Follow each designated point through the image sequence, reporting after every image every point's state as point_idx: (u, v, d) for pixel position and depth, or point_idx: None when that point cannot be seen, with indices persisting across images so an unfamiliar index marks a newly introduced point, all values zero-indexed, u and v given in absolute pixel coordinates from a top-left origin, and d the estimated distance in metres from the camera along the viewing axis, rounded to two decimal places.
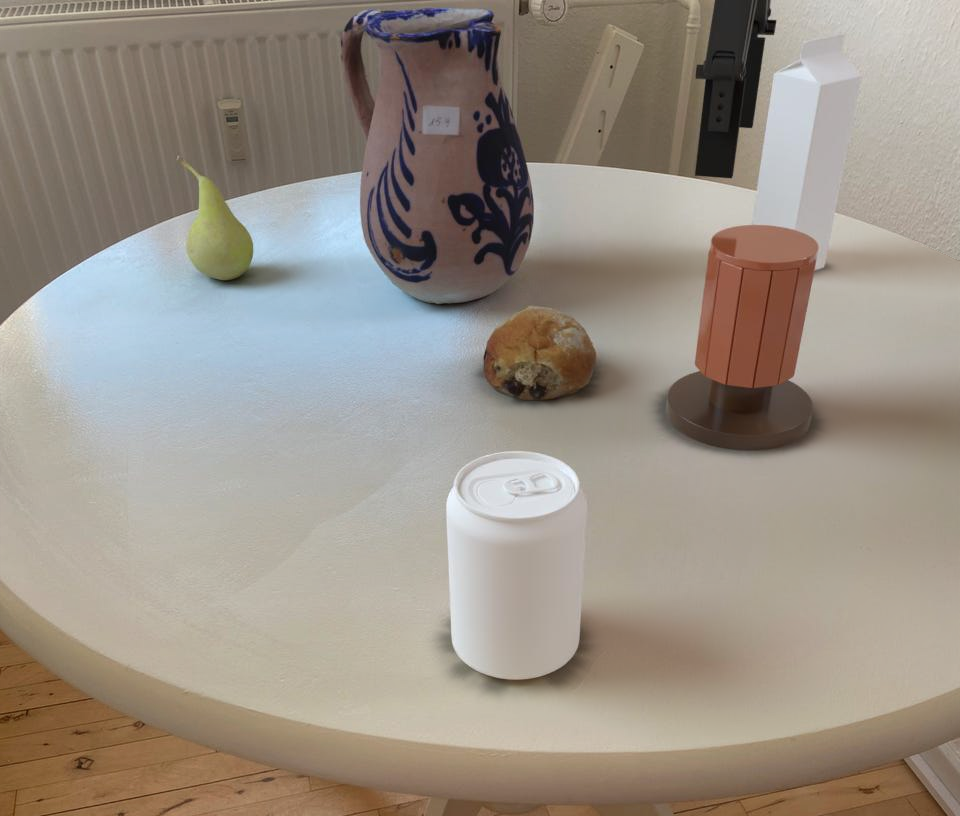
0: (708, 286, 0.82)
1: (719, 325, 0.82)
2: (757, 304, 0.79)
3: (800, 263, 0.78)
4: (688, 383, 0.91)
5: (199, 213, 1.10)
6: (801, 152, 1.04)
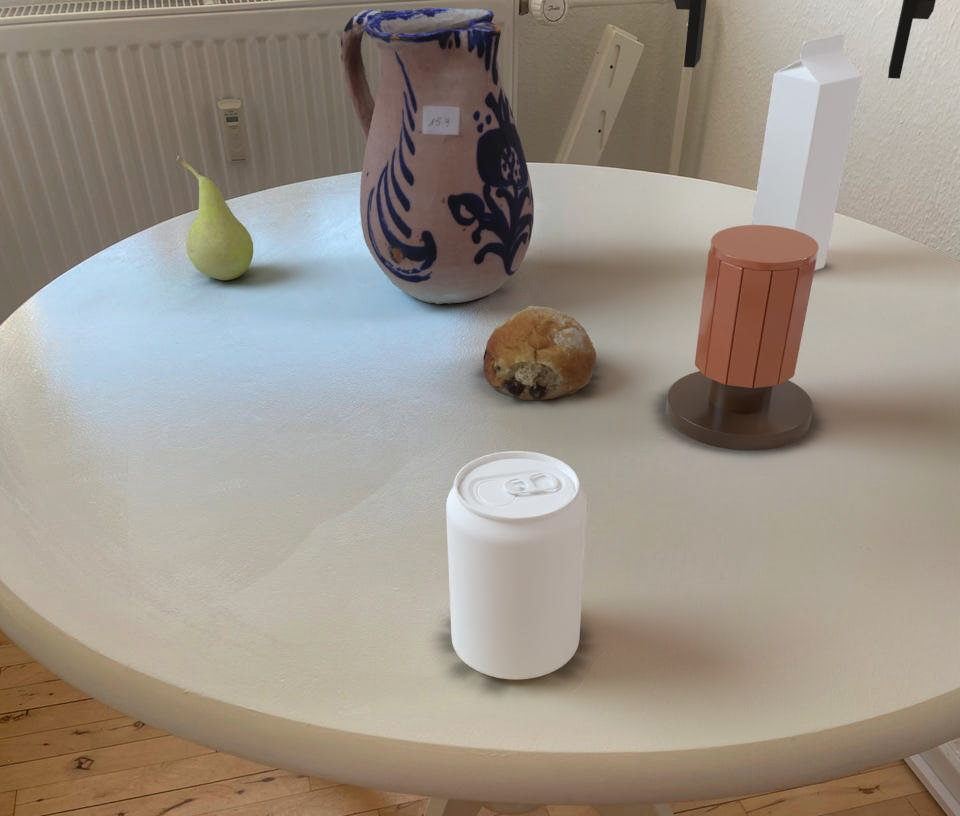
0: (708, 286, 0.82)
1: (719, 325, 0.82)
2: (757, 304, 0.79)
3: (800, 263, 0.78)
4: (688, 383, 0.91)
5: (199, 213, 1.10)
6: (801, 152, 1.04)
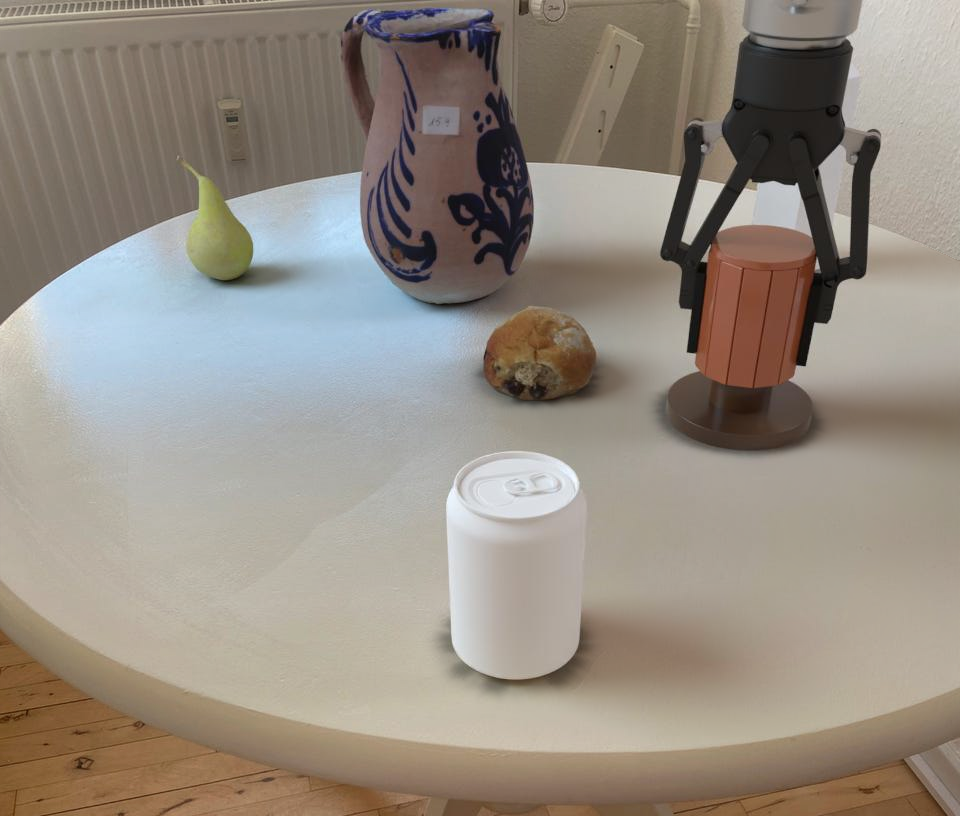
0: (708, 286, 0.82)
1: (719, 325, 0.82)
2: (757, 304, 0.79)
3: (800, 263, 0.78)
4: (688, 383, 0.91)
5: (199, 213, 1.10)
6: None
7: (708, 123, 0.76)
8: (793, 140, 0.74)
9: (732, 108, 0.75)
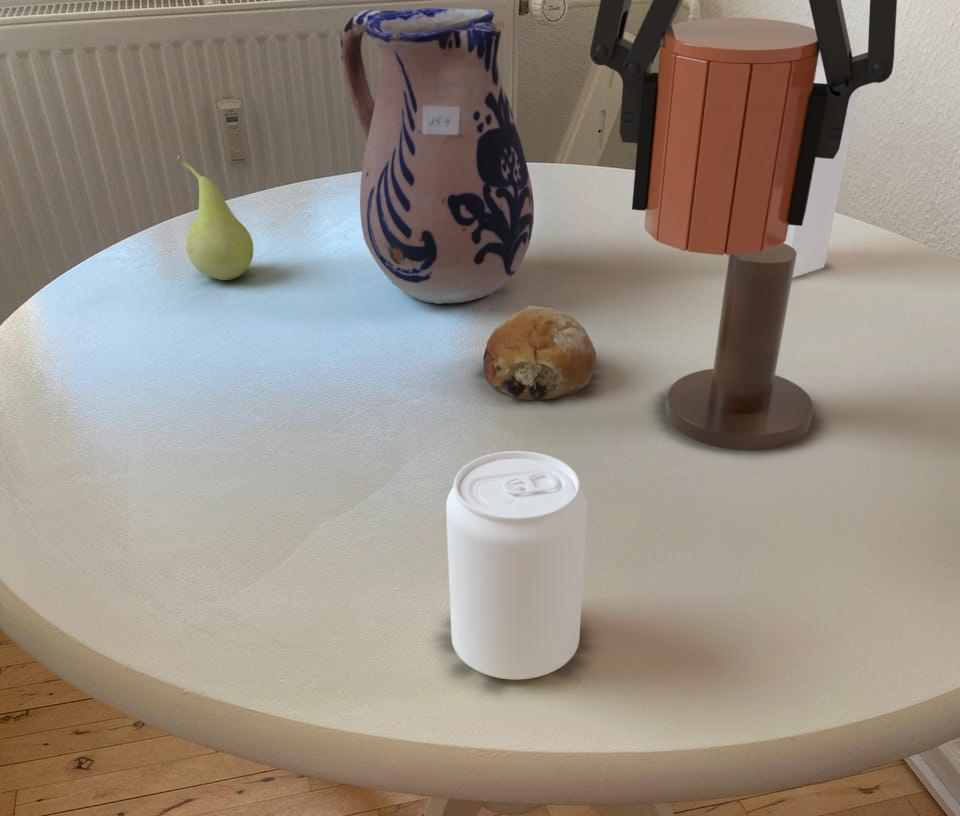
0: (660, 101, 0.56)
1: (676, 159, 0.56)
2: (730, 120, 0.54)
3: (794, 54, 0.52)
4: (688, 383, 0.91)
5: (199, 213, 1.10)
6: None
7: None
8: None
9: None
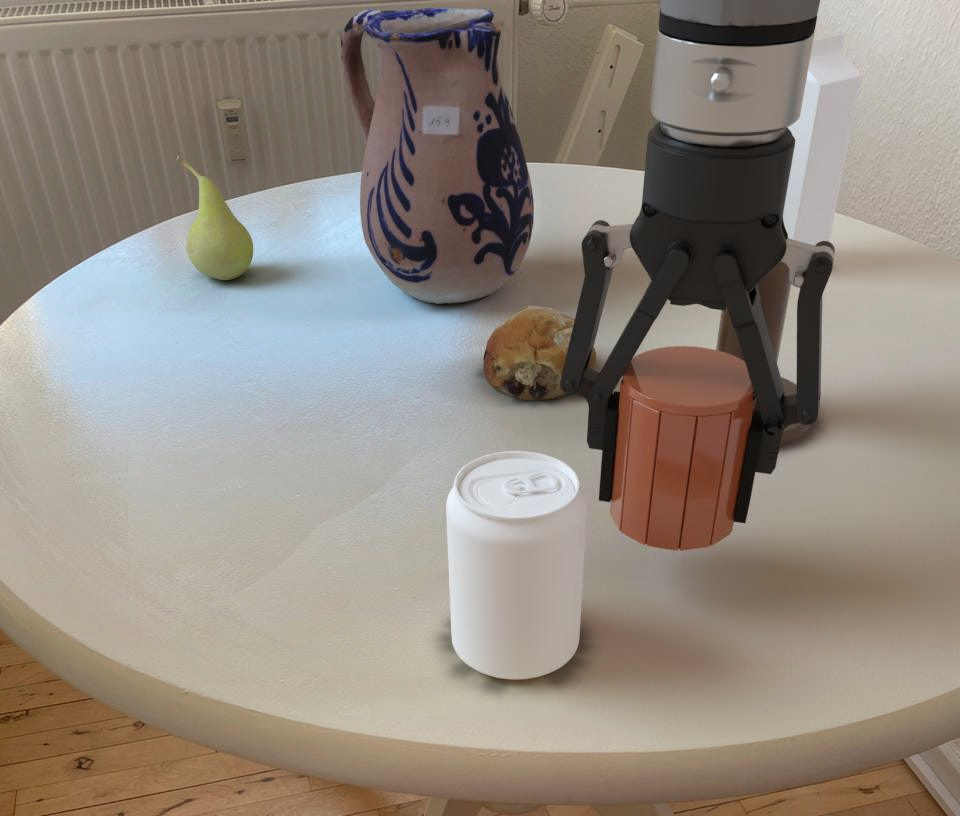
0: (621, 426, 0.65)
1: (635, 475, 0.65)
2: (680, 455, 0.62)
3: (733, 406, 0.61)
4: None
5: (199, 213, 1.10)
6: (801, 152, 1.04)
7: (613, 230, 0.59)
8: (719, 257, 0.57)
9: (641, 213, 0.57)
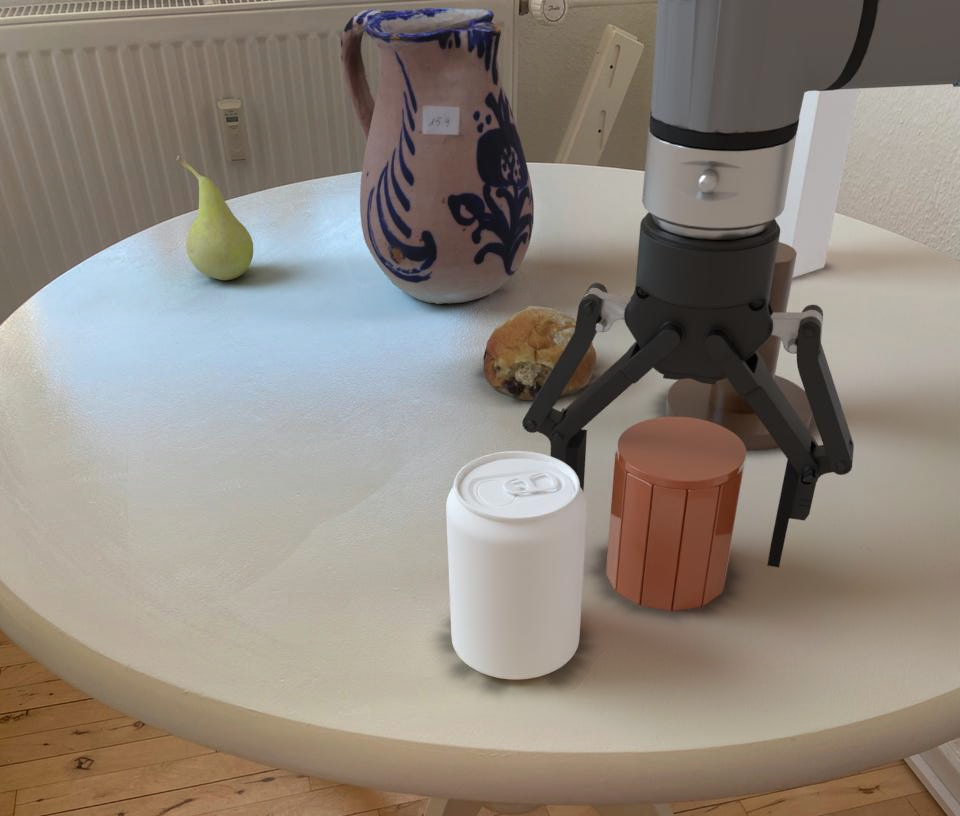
0: (615, 494, 0.68)
1: (629, 541, 0.68)
2: (671, 524, 0.66)
3: (722, 480, 0.64)
4: (688, 383, 0.91)
5: (199, 213, 1.10)
6: (801, 152, 1.04)
7: (610, 299, 0.61)
8: (707, 339, 0.60)
9: (635, 295, 0.60)
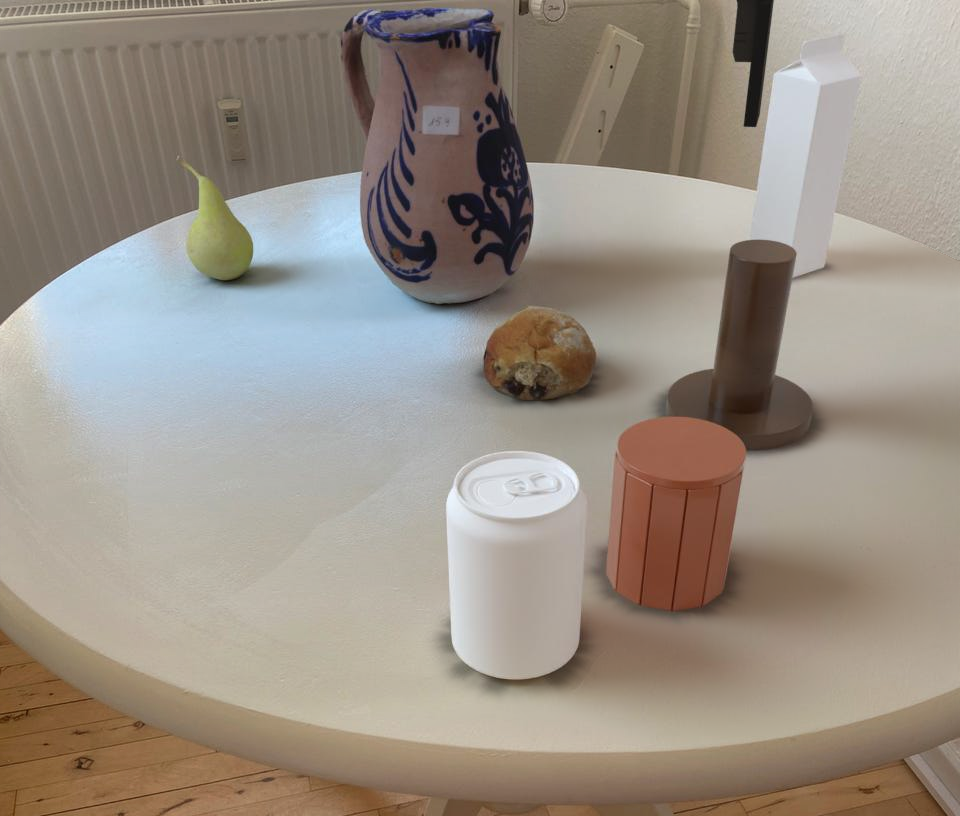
0: (615, 494, 0.68)
1: (629, 541, 0.68)
2: (671, 524, 0.66)
3: (722, 480, 0.64)
4: (688, 383, 0.91)
5: (199, 213, 1.10)
6: (801, 152, 1.04)
7: None
8: None
9: None
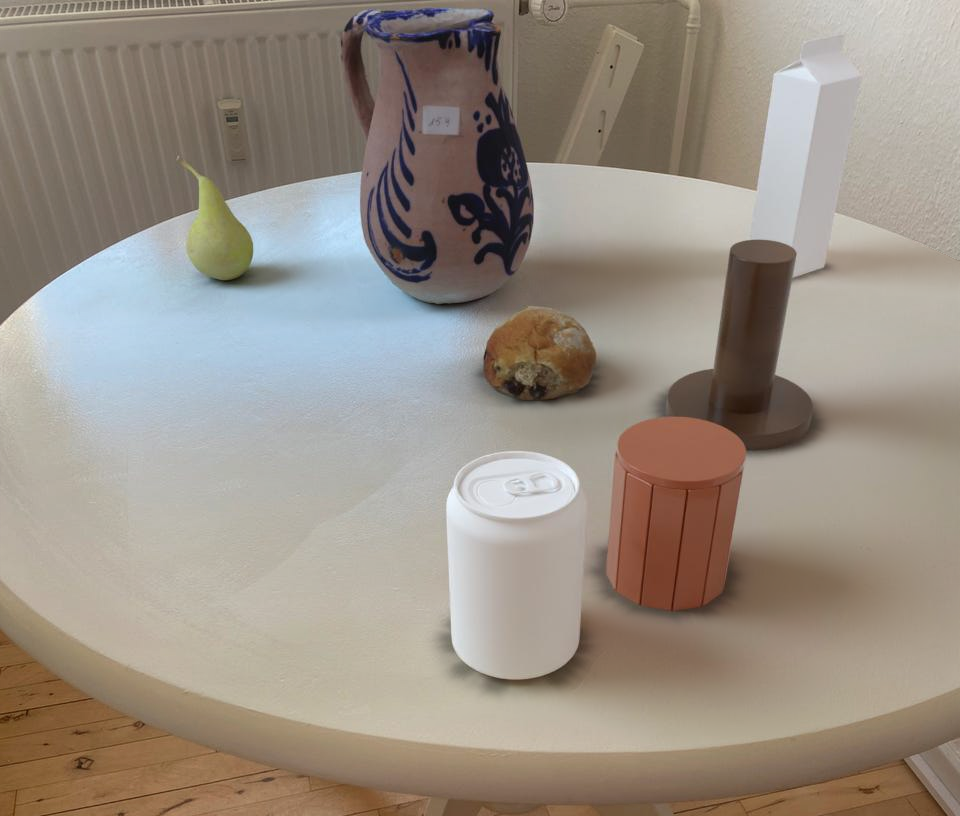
0: (615, 494, 0.68)
1: (629, 541, 0.68)
2: (671, 524, 0.66)
3: (722, 480, 0.64)
4: (688, 383, 0.91)
5: (199, 213, 1.10)
6: (801, 152, 1.04)
7: None
8: None
9: None
